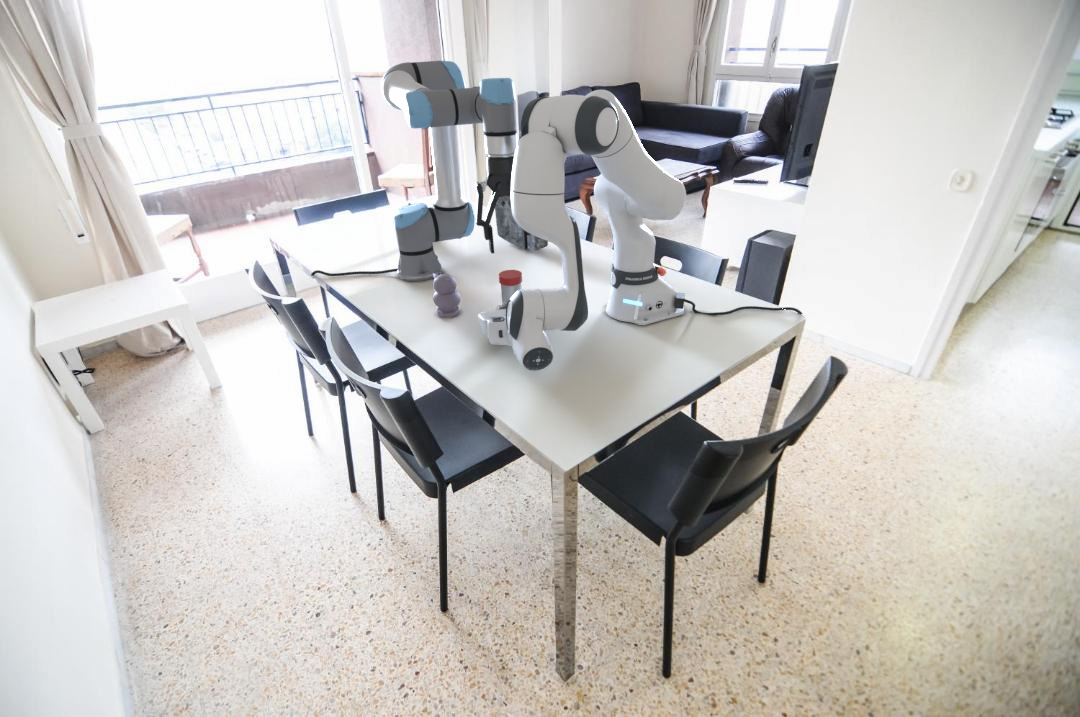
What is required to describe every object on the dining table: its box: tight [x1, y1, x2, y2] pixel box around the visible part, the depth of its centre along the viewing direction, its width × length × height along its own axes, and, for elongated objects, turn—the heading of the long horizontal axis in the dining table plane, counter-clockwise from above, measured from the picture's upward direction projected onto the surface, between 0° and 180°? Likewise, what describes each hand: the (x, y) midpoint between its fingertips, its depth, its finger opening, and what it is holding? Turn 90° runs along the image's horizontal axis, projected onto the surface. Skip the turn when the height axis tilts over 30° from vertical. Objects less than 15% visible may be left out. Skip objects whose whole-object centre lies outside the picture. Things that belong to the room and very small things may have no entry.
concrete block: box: [494, 196, 549, 252], centre depth 191 cm, size 27×9×20 cm, turn 36°
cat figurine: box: [432, 273, 462, 318], centre depth 145 cm, size 9×8×12 cm
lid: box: [498, 269, 523, 286], centre depth 131 cm, size 6×6×2 cm
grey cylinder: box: [500, 282, 522, 309], centre depth 134 cm, size 5×5×16 cm
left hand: (508, 249), depth 127 cm, fingers open, 8 cm apart
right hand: (511, 305), depth 136 cm, fingers closed on grey cylinder, 5 cm apart
